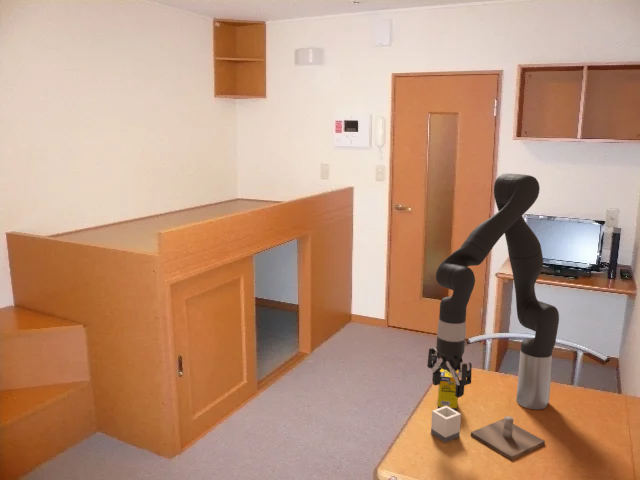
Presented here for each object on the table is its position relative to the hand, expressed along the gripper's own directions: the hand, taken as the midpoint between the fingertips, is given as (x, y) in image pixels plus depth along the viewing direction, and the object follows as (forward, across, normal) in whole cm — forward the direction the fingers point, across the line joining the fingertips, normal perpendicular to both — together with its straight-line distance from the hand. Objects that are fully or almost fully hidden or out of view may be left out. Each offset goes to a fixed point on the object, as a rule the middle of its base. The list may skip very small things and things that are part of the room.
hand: (447, 390), depth 155 cm
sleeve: (+14, 0, 0) cm, 14 cm away
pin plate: (+14, -11, -13) cm, 22 cm away
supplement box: (+14, +12, -13) cm, 23 cm away
